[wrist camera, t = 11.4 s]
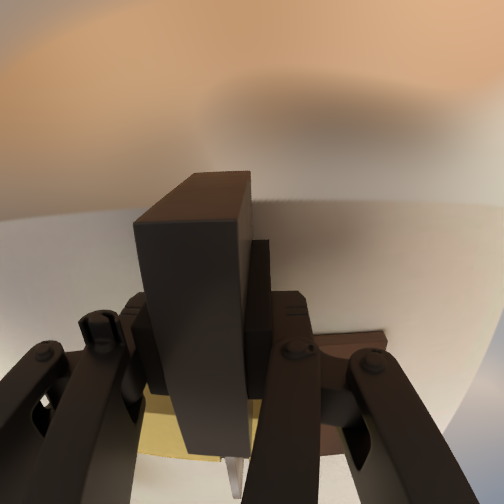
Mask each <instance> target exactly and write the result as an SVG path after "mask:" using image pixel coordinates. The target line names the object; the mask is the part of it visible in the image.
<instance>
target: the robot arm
mask: <svg viewBox="0 0 504 504" xmlns="http://www.w3.org/2000/svg"><path fill="white" fill-rule="evenodd" d="M78 324H79V327H80V330H81V332H82V335H83V338H84V341H85V343H86V346H85V348H84V350H81V351H73V352H65V351H64V349H63V347H62V345H61V343H59V342H57V341H53V340H48V341H42V342H41V343H38V344H36V345H35V346H34V347H32V348H31V349H30V350H29V351H28V352H27V353H26V354H25V355H24V356H23V357H22V358H21V359H20V360H19V361H18V363H17V364H16V365H15V366H14V367H13V368H12V369H11V370H10V371H9V372H8V373H7V374H6V375H5V376H4V378H3V379H2V380H1V381H0V504H130V497H131V490H132V483H133V476H134V470H135V464H136V457H137V451H138V445H139V440H140V434H141V429H142V423H143V418H144V412H145V407H146V399H145V396H144V394H143V391H144V389H145V386H146V383H147V385H148V388H149V390H150V393H151V394H154V395H165V396H169V392H168V389H167V385H166V381H165V378H164V374H163V370H162V366H161V363H160V359H159V355H158V351H157V347H156V343H155V338H154V334H153V330H152V325H151V321H150V316H149V312H148V307H147V302H146V297H145V292H139V293H137V294H136V295H134V296H133V297H132V298H130V299H129V301H128V302H127V304H126V305H125V308H123V310H122V311H121V313H120V315H119V316H118V314H117V313H116V312H114V311H111V310H98V311H94V312H91V313H88V314H87V315H85V316H83V317H82V318H81V319H80V320H79V321H78ZM244 338H245V356H246V374H247V392H248V399H249V400H261V399H262V402H261V407H260V412H259V418H258V423H257V428H256V433H255V438H254V443H253V448H252V453H251V458H250V463H249V468H248V473H247V478H246V482H245V487H244V492H243V497H242V501H241V504H318V489H319V467H320V432H321V424H324V425H329V426H334V427H336V430H337V433H338V436H339V439H340V442H341V445H342V447H343V450H344V453H345V456H346V459H347V462H348V465H349V468H350V471H351V474H352V477H353V480H354V483H355V486H356V489H357V492H358V495H359V499H360V502H361V504H479V502H478V500H477V498H476V496H475V494H474V492H473V490H472V489H471V487H470V484H469V483H468V481H467V479H466V477H465V475H464V473H463V472H462V470H461V468H460V466H459V464H458V462H457V461H456V459H455V457H454V455H453V453H452V452H451V450H450V448H449V446H448V444H447V443H446V441H445V439H444V437H443V436H442V434H441V432H440V431H439V429H438V427H437V425H436V424H435V422H434V420H433V419H432V417H431V415H430V414H429V412H428V410H427V409H426V407H425V405H424V404H423V402H422V400H421V399H420V397H419V395H418V394H417V392H416V391H415V389H414V387H413V386H412V384H411V383H410V381H409V379H408V378H407V376H406V375H405V373H404V371H403V370H402V368H401V367H400V365H399V363H398V362H397V360H396V359H395V358H394V357H393V356H392V355H391V354H390V353H389V352H387V351H385V350H383V349H378V348H363V349H360V350H357V351H356V352H354V353H353V354H352V355H351V357H350V359H345V358H339V357H334V356H330V355H328V354H326V353H324V352H323V351H321V350H320V349H319V346H318V345H317V344H316V343H315V342H314V338H313V333H312V328H311V323H310V318H309V313H308V308H307V303H306V299H305V297H304V296H303V295H302V294H301V293H300V292H299V291H271V278H270V252H269V240H252V249H251V260H250V271H249V282H248V293H247V304H246V315H245V326H244ZM44 395H46V397H47V399H48V400H49V402H50V403H49V404H48V405H47V406H46V407H44V406H43V405H42V403H41V401H40V400H41V398H42V397H43V396H44Z"/></svg>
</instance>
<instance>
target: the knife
mask: <svg viewBox="0 0 504 504" xmlns="http://www.w3.org/2000/svg"><path fill="white" fill-rule="evenodd" d="M133 229H134V236H135V242H136V248H137V254H138V260H139V266H140V272H141V277H142V282H143V287H144V292H145V297H146V302H147V307H148V312H149V316H150V321H151V325H152V330H153V334H154V338H155V343H156V347H157V351H158V355H159V359H160V363H161V366H162V370H163V374H164V378H165V381H166V385H167V389H168V392H169V396H170V399H171V402H172V406H173V409H174V412H175V416H176V419H177V422H178V425H179V428H180V432H181V435H182V438H183V441H184V444H185V447H186V450H187V452H188V454H193V455H205V456H221V457H225V460H226V465H227V470H228V475H229V480H230V485H231V490H232V495H233V498H234V499H241V494H242V478H243V463H244V457H251V446H252V423H253V400H249V399H248V392H247V374H246V356H245V338H244V326H245V315H246V304H247V293H248V282H249V271H250V260H251V249H252V240H253V239H252V205H251V172H250V171H227V172H204V173H194V174H192V175H191V176H190V177H189V178H187V179H186V180H185V181H184V182H183V183H181V184H180V185H178V186H177V187H176V188H175V189H173V190H172V191H171V192H170V193H168V194H167V195H166V196H165V197H163V198H162V199H161V200H160V201H158V202H157V203H156V204H155V205H154V206H152V207H151V208H150V209H149V210H148V211H146V212H145V213H144V214H143V215H142V216H140V217H139V218H138V219H137V220H136V221H135V222H133Z"/></svg>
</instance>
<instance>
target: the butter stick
mask: <svg viewBox="0 0 504 504" xmlns="http://www.w3.org/2000/svg"><path fill="white" fill-rule="evenodd" d="M143 394H144V396H145V399H146V407H145V412H144V418H143V423H142V429H141V434H140V440H139V445H138V451H137V453H141V454H148V455H154V456H161V457H169V458H178V459H187V460H198V461H212V462H221V458H222V457H221V456H205V455H193V454H188V452H187V450H186V447H185V444H184V441H183V438H182V435H181V432H180V428H179V425H178V422H177V419H176V416H175V412H174V409H173V406H172V402H171V399H170V396H165V395H154V394H151V393H150V390H149V388H148V385H147V383H146V386H145V389H144V391H143Z"/></svg>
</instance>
